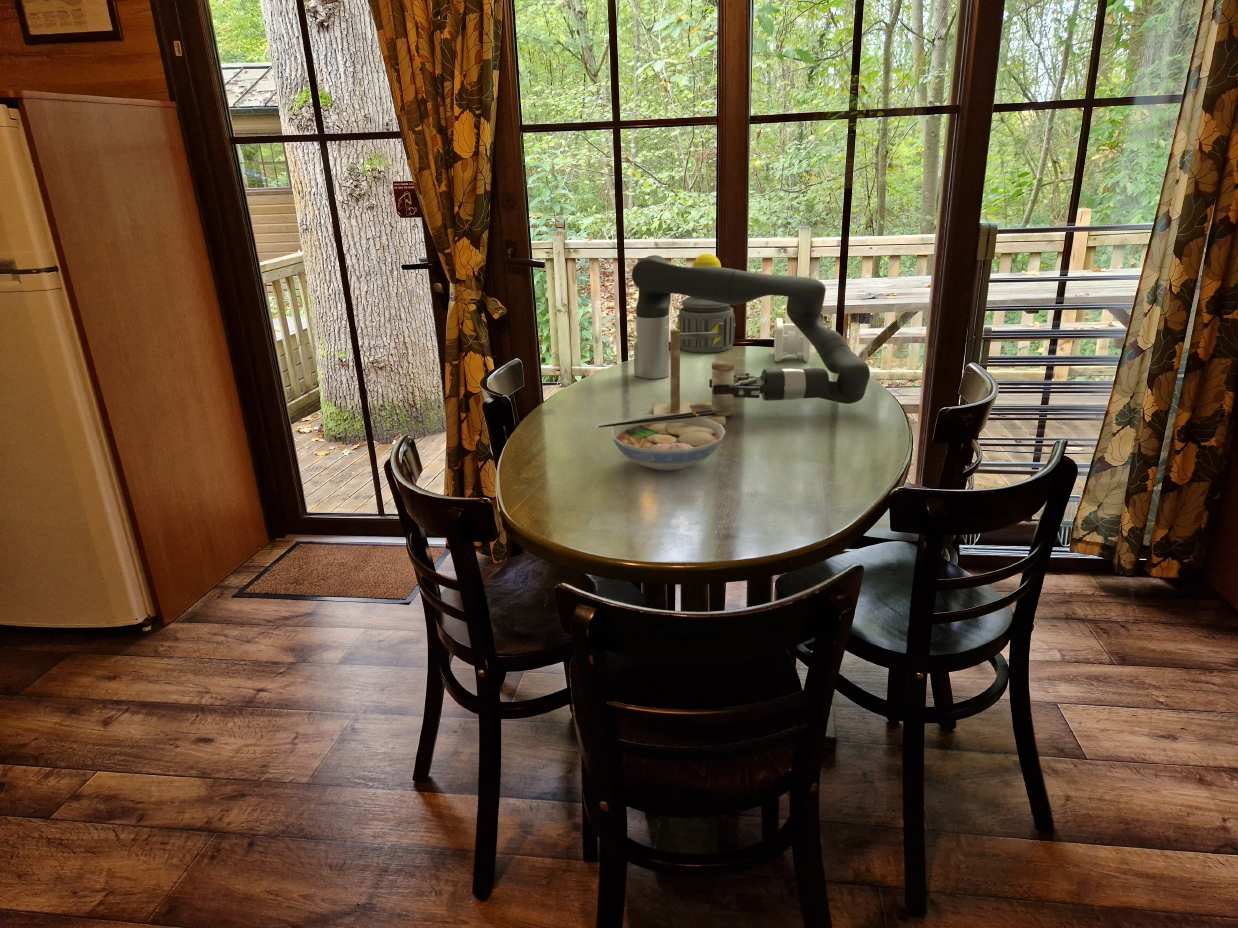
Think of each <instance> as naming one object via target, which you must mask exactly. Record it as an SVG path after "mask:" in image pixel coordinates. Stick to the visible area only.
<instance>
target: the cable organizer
mask: <svg viewBox="0 0 1238 928" xmlns="http://www.w3.org/2000/svg"><path fill="white" fill-rule="evenodd" d="M773 325H774V326H773V328H774V331H773V334H774V337H773V338H774V342H773V350H774V360H775V361H776V362H781V361H782V360H783V356H787V357H786V358H788V357H789V355H797V358H798V357H799V356H802V359H803V361H804V362H805V363H806V362H808V361H809V360H810V356H811V355H810V354H811V342H810V341H809V340H808V339H807V337H806V336H805V335H804V334H803V333H802V332H801V331H800V330H799V329H798V327H797V326H796V325H795V324H794V323H784V321H783V318H782V317H779V318H778V317H776V318H775V320H774V321H773Z"/></svg>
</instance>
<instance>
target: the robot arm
mask: <svg viewBox="0 0 1238 928" xmlns="http://www.w3.org/2000/svg"><path fill="white" fill-rule="evenodd" d="M631 279H632V281H633V284H634V285H635V286H636V287H637V288H638V299H637V303H636V305H635V324H636V325H635V326H636V334H635V335H636V341H634V342H633V373H634V375H633V376H636V377H639V378H641V379H649V380H653V379H655V380H658V379H663V378H667V377H669V376H670V307H671V297H672V294H675V295H682V296H687V297H694V298H698V299H703V300H708V301H713V302H718V303H724V304H730V306H731V305H733V306H738V305H742V304H743V305H744V304H745V303H749V302H752V301H755V300H756V299H760V298H763V297H769V296H778V297H779V296H781V297H786V298H787V301H786V315H787V316H788V318H789V320H790V321H791V322H792V324H795V325H796V326H797V327H798V329H799V330H800V331H801V332H802V333H803V334H804V335H805V336H806V337H807V339H808V340H809V341H810V344H811V345H812V346H813V347H814V348H815V349H814V350H815V351H816V352H817V354H818V355H819V357H820V359H821V360H822V363H823V365H824V366H825V367H826V369H827V370H826V369H824V368H821V367H820V368H819V367H816V368H814V367H812V368H811V367H810V368H795V367H783V368H781V367H780V368H779V367H778V368H763V369H762V371H761V373H760V374H761V375H760V376H755V375H753V374H752V375H751V373H749V372H746V373H735V374H734V376H733V384H730V386H729V384H725V385H713V394H714V395H721V394H729V395H731V396H733V398H735V399H737V398H739V399H741V398H743V399H759V398H760V395H761V398H762V400H763V401H765V402H766V401H769V402H770V401H771V402H772V401H793V400H799V399H801V400H803V399H823V400H826V401H831V402H835V403H840V404H846V405H848V404H849V405H852V404H855V403H857V402H858V403H859V401H861V400H862V399H863V398H864V396H865V394H866V390H867V387H868V384H869V380H870V377H871V370H870V367H869V365H868V363H866V361H864V360H863V359H862V358H861V357H860V356H858V355H857V354H856V353H854V352H853V351H852V350H851V348H850V347H849V344H848V343H847V341H846V340H845V338H844V337H843V336H842V335H841V334H840V333H839V332H838V331H836V330H834V329H831V328H828V327H826V326H825V323H824V322H823V319H822V315H821V313H822V311H823V306H824V302H825V296H826V292H827V291H826V290H827V288H826V286H825V284H824V283H823V281H820V280H818V279H816V278H812V277H806V276H795V275H794V276H793V275H781V274H780V275H778V274H777V275H776V274H768V273H767V274H766V273H760V272H752V271H747V270H746V271H745V270H740V269H735V268H729V267H728V268H727V267H722V266H721V267H693V266H690V267H689V266H687V267H686V266H681V265H675V264H670V263H669V261H667V260H666V258H664V257H662V256H660V255H658V254H657V255H656V254H655V255H649V256H647V257H644V258H642V259H640V260H639V261H638V262H637V263H635V265H634V267H633V268H632V271H631ZM828 371H829V372H830V373H831V374H832V373H833V374H838V375H837V378H836V381H831V380H830V375H829V373H828ZM708 383H709V387H710V389H712V378H710V379H709V381H708Z"/></svg>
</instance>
